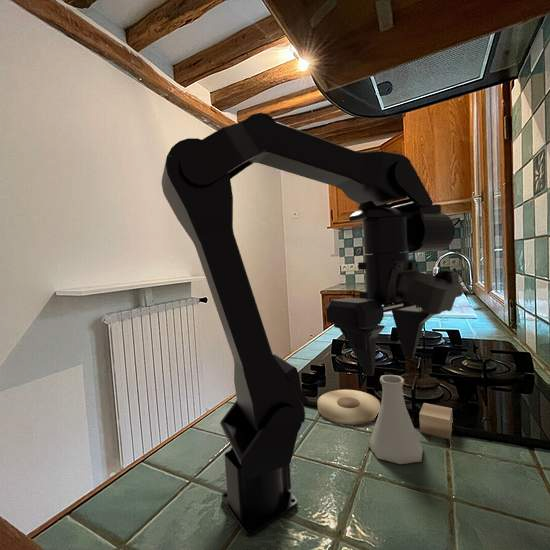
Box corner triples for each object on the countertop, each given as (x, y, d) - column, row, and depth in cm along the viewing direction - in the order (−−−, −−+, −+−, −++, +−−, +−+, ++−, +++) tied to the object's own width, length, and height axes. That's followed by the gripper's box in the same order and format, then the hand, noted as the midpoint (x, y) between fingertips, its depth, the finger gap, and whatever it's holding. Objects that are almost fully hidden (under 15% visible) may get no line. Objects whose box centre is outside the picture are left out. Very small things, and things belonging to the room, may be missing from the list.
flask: (431, 468, 38) (427, 390, 37) (371, 464, 39) (367, 389, 39) (416, 435, 45) (413, 369, 45) (365, 432, 46) (362, 369, 46)
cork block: (450, 440, 43) (449, 420, 43) (420, 433, 46) (419, 413, 46) (452, 427, 47) (452, 408, 47) (424, 420, 49) (423, 402, 49)
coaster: (351, 432, 47) (351, 425, 47) (305, 407, 56) (304, 401, 56) (393, 409, 53) (393, 403, 53) (345, 389, 62) (345, 384, 62)
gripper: (400, 251, 29) (407, 409, 30) (481, 248, 40) (485, 364, 41) (320, 257, 38) (326, 378, 39) (404, 253, 49) (407, 348, 50)
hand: (390, 366), depth 42 cm, fingers open, 9 cm apart
